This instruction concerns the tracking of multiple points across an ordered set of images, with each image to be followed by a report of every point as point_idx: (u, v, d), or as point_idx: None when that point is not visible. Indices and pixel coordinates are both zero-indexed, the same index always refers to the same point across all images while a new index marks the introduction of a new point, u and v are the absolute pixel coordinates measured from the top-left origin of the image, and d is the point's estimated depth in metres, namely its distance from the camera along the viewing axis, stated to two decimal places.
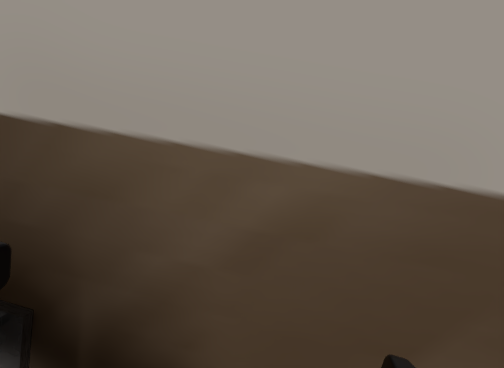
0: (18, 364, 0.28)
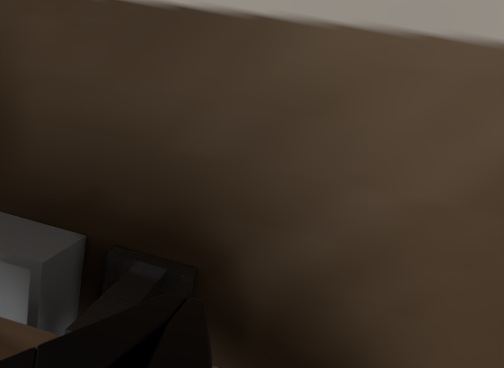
0: None
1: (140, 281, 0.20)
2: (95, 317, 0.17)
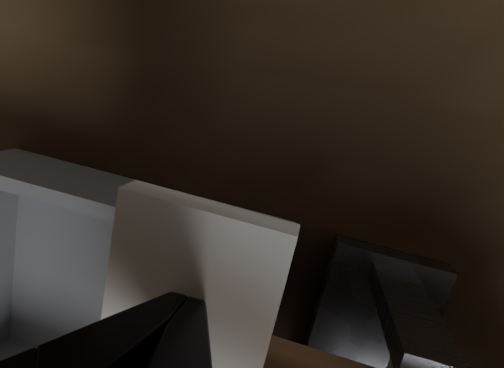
0: None
1: (404, 281, 0.15)
2: (416, 333, 0.11)
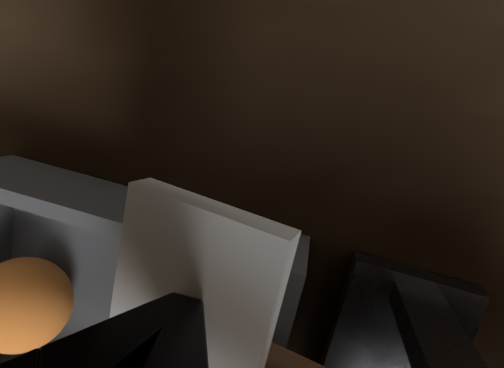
0: None
1: (431, 305, 0.13)
2: None
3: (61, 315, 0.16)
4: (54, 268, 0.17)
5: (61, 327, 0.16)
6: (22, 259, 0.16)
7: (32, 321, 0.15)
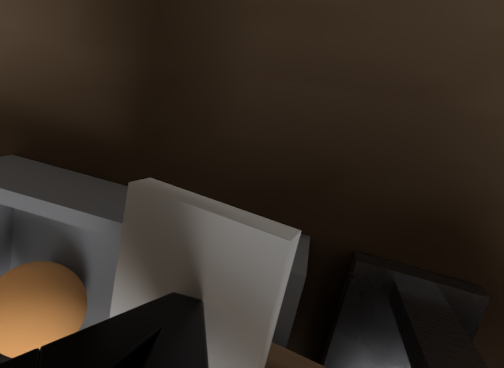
0: None
1: (431, 305, 0.13)
2: None
3: (84, 311, 0.16)
4: (66, 268, 0.17)
5: (82, 323, 0.17)
6: (33, 264, 0.16)
7: (65, 320, 0.15)
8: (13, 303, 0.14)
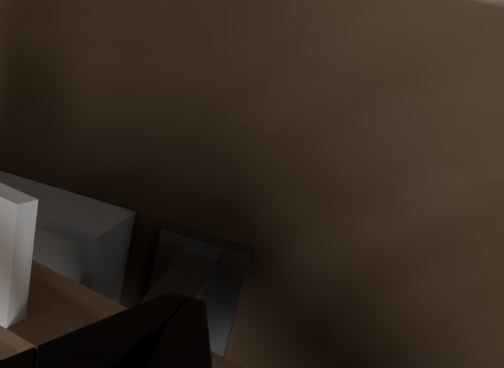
0: (231, 320, 0.21)
1: (199, 260, 0.19)
2: None
3: None
4: None
5: None
6: None
7: None
8: None
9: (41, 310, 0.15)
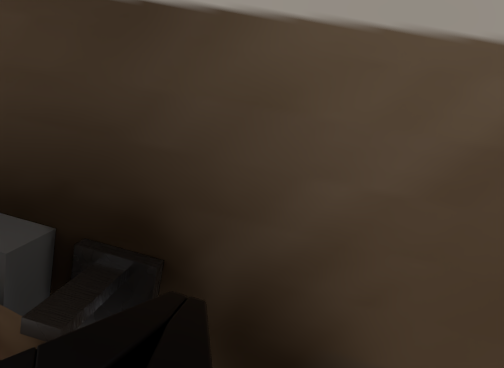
0: None
1: (105, 272, 0.20)
2: (53, 306, 0.17)
3: None
4: None
5: None
6: None
7: None
8: None
9: None
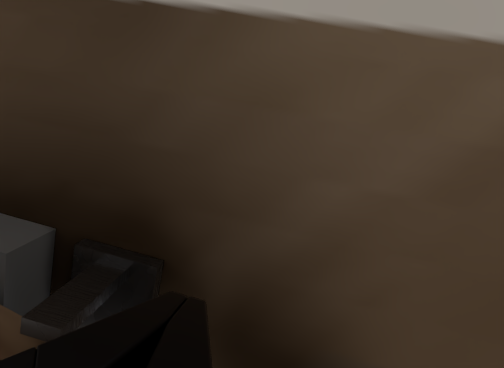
0: None
1: (105, 272, 0.20)
2: (53, 306, 0.17)
3: None
4: None
5: None
6: None
7: None
8: None
9: None
